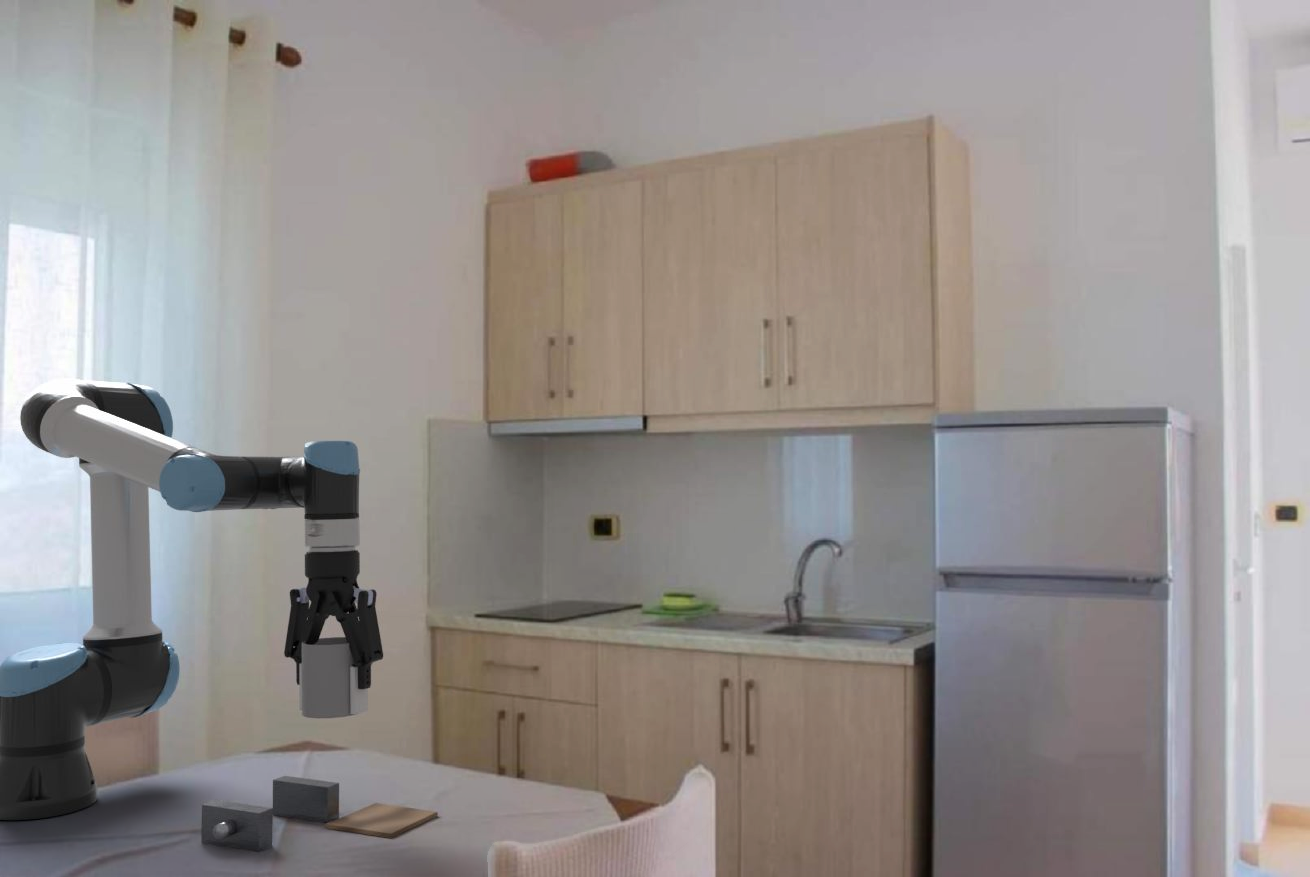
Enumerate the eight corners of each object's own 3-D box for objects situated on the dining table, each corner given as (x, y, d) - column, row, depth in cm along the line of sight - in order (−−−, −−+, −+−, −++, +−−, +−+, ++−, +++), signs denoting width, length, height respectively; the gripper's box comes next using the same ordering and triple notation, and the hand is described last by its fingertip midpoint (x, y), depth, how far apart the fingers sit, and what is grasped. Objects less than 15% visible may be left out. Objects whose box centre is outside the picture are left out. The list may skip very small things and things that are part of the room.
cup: (344, 719, 154) (344, 645, 154) (290, 717, 156) (290, 645, 156) (373, 707, 162) (373, 637, 163) (322, 706, 164) (321, 636, 164)
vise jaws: (189, 846, 150) (190, 808, 150) (294, 806, 168) (294, 772, 169) (247, 856, 146) (247, 817, 146) (347, 814, 164) (348, 779, 165)
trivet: (326, 828, 158) (326, 824, 158) (375, 807, 168) (375, 803, 168) (390, 838, 153) (390, 833, 153) (437, 815, 164) (437, 811, 164)
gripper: (256, 550, 161) (256, 710, 160) (374, 551, 152) (376, 720, 151) (293, 547, 168) (294, 701, 167) (409, 548, 159) (411, 710, 158)
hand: (333, 710), depth 159 cm, fingers closed on cup, 8 cm apart
